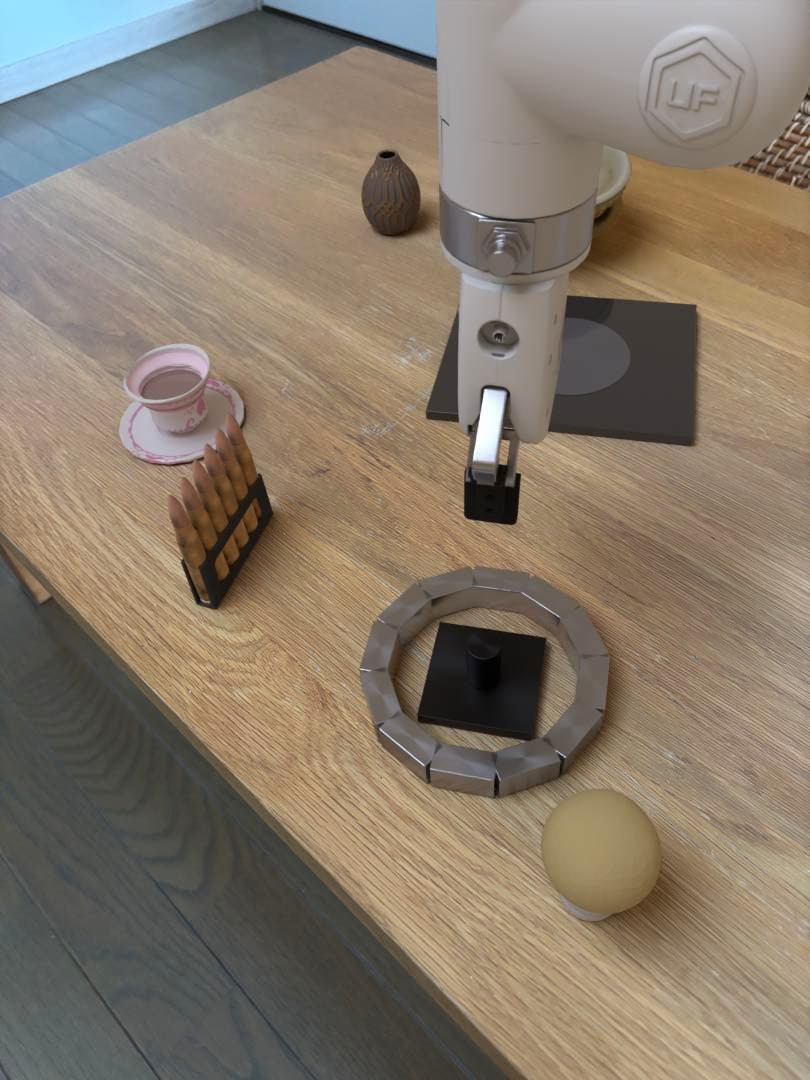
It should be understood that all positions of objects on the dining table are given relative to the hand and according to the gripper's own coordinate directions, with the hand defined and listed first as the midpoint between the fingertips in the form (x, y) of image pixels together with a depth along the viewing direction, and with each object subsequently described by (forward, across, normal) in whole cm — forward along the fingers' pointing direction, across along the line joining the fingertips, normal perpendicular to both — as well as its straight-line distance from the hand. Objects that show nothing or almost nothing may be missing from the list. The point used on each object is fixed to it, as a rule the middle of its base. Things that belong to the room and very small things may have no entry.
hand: (502, 462), depth 55 cm
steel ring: (+15, -7, 0) cm, 17 cm away
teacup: (+16, +16, +33) cm, 39 cm away
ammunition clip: (+16, +1, +22) cm, 27 cm away
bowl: (+15, +51, +3) cm, 53 cm away
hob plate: (+15, +30, -2) cm, 33 cm away
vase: (+16, +53, +21) cm, 59 cm away
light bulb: (+15, -21, -9) cm, 27 cm away
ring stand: (+15, -7, 0) cm, 17 cm away
